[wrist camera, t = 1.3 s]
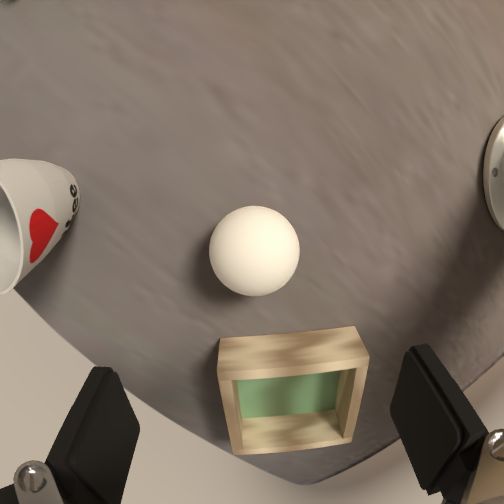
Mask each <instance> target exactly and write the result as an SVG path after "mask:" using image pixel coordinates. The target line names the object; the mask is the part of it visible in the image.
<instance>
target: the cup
mask: <svg viewBox="0 0 504 504" xmlns="http://www.w3.org/2000/svg"><path fill="white" fill-rule="evenodd" d="M79 204H80V192H79V188H78V184H77V182H76V180H75V178H74V177H73V175H72V174H71V173H70V172H69V171H67V170H66V169H64V168H62V167H60V166H57V165H54V164H51V163H49V162H46V161H40V160H26V159H5V160H0V295H4V294H6V293H8V292H9V291H10V290H11V289H12V288H13V287H14V286H15V285H16V284H18V283H19V282H20V281H21V280H22V279H23V278H24V277H25V276H26V275H27V274H28V273H29V272H30V271H31V270H32V269H33V268H34V267H35V266H36V265H38V264H39V263H40V262H41V261H42V260H43V259H44V258H45V257H46V256H47V254H48V253H49V252H50V251H51V249H52V248H53V247H54V246H55V245H56V243H57V242H58V241H59V240H60V239H61V238H62V236H63V235H64V234H65V233H66V231H67V230H68V228H69V226H70V224H71V222H72V220H73V219H74V217H75V215H76V213H77V211H78V208H79Z"/></svg>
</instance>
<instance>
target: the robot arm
mask: <svg viewBox="0 0 504 504" xmlns="http://www.w3.org/2000/svg"><path fill="white" fill-rule="evenodd" d="M483 182H484V192H485V199H486V202H487V206H488V209H489V212H490V214H491V216H492V218H493V220H494V221H495V223H496V224H497V226H498V227H499V228H501V229H502V230H503V231H504V117H503V118H502V119H500V121H499V122H498V123H497V125H496V126H495V128H494V130H493V132H492V134H491V136H490V138H489V142H488V145H487V148H486V153H485V158H484V169H483ZM390 413H391V417H392V419H393V421H394V424H395V426H396V428H397V431H398V433H399V435H400V438H401V440H402V442H403V445H404V447H405V449H406V452H407V454H408V457H409V459H410V461H411V464H412V467H413V469H414V472H415V474H416V477H417V479H418V482H419V484H420V487H421V488H422V489H423V490H425V489H426V491H427V493H428V495H431V494H434V493H437V492H439V491H441V493H442V496H443V501H442V503H441V504H504V429H497V430H494V431H492V432H490V433H489V432H488V431H487V429H486V427H485V426H484V424H483V423H482V421H481V419H480V418H479V416H478V415H477V413H476V412H475V410H474V409H473V407H472V406H471V404H470V403H469V401H468V399H467V398H466V396H465V395H464V393H463V392H462V390H461V389H460V388H459V386H458V385H457V383H456V382H455V380H454V379H453V378H452V377H451V375H450V374H449V372H448V371H447V370H446V368H445V367H444V365H443V364H442V363H441V361H440V360H439V358H438V357H437V356H436V354H435V353H434V351H433V350H432V349H431V347H430V346H429V345H428V344H422V345H417V346H412V347H411V348H410V349H409V352H406V353H405V355H404V359H403V363H402V367H401V371H400V375H399V378H398V382H397V385H396V389H395V392H394V396H393V399H392V402H391V406H390ZM139 432H140V426H139V422H138V420H137V418H136V416H135V414H134V411H133V409H132V407H131V405H130V403H129V400H128V398H127V395H126V393H125V391H124V388H123V386H122V383H121V381H120V379H119V376H118V374H117V373H116V372H113V370H112V369H111V368H110V367H96V366H95V367H93V369H92V370H91V372H90V374H89V376H88V378H87V379H86V381H85V383H84V385H83V387H82V389H81V391H80V392H79V394H78V396H77V398H76V400H75V402H74V404H73V406H72V407H71V409H70V411H69V413H68V415H67V417H66V419H65V421H64V423H63V426H62V427H61V429H60V431H59V433H58V435H57V437H56V440H55V442H54V444H53V446H52V448H51V450H50V452H49V455H48V457H47V459H46V461H45V463H43V462H40V461H28V462H25V463H23V464H22V465H21V466H20V467H18V469H17V470H16V472H15V475H14V484H12V485H9V486H7V487H4V488H1V489H0V504H121V499H122V495H123V492H124V488H125V484H126V480H127V476H128V473H129V469H130V465H131V461H132V458H133V454H134V451H135V447H136V443H137V440H138V436H139Z"/></svg>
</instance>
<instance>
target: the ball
mask: <svg viewBox="0 0 504 504" xmlns="http://www.w3.org/2000/svg"><path fill="white" fill-rule="evenodd" d="M209 257H210V262H211V265H212V268H213V270H214V272H215V274H216V276H217V277H218V279H219V280H220V281H221V282H222V283H223V284H224V285H225V286H226V287H228V288H229V289H231V290H232V291H234V292H236V293H239V294H242V295H246V296H262V295H266V294H269V293H272V292H274V291H276V290H278V289H279V288H281V287H282V286H283V285H285V284H286V283H287V282H288V280H289V279H290V278H291V276H292V275H293V273H294V271H295V269H296V267H297V264H298V260H299V242H298V238H297V235H296V233H295V230H294V229H293V227H292V226H291V224H290V223H289V222H288V220H287V219H286V218H285V217H284V216H282V215H281V214H280V213H278V212H276V211H274V210H272V209H269V208H266V207H262V206H247V207H242V208H239V209H237V210H234V211H232V212H231V213H229V214H228V215H226V216H225V217H224V218H223V219H222V220H221V221H220V222H219V223H218V225H217V226H216V228H215V230H214V232H213V234H212V236H211V240H210V245H209Z"/></svg>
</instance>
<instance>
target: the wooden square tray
mask: <svg viewBox="0 0 504 504" xmlns="http://www.w3.org/2000/svg"><path fill="white" fill-rule="evenodd" d="M369 358H370V356H369V354H368V352H367V350H366V348H365V346H364V344H363V342H362V340H361V338H360V336H359V334H358V332H357V330H356V328H355V326H350V327H342V328H334V329H325V330H316V331H307V332H296V333H285V334H274V335H261V336H246V337H230V338H220V344H219V354H218V364H217V376H218V381H219V386H220V392H221V397H222V402H223V407H224V412H225V417H226V422H227V427H228V432H229V436H230V441H231V446H232V450H233V455H243V454H262V453H275V452H287V451H296V450H305V449H313V448H320V447H327V446H333V445H339V444H345V443H350V442H351V441H352V437H353V433H354V429H355V425H356V421H357V417H358V413H359V408H360V404H361V399H362V395H363V390H364V385H365V380H366V375H367V369H368V364H369Z"/></svg>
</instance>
